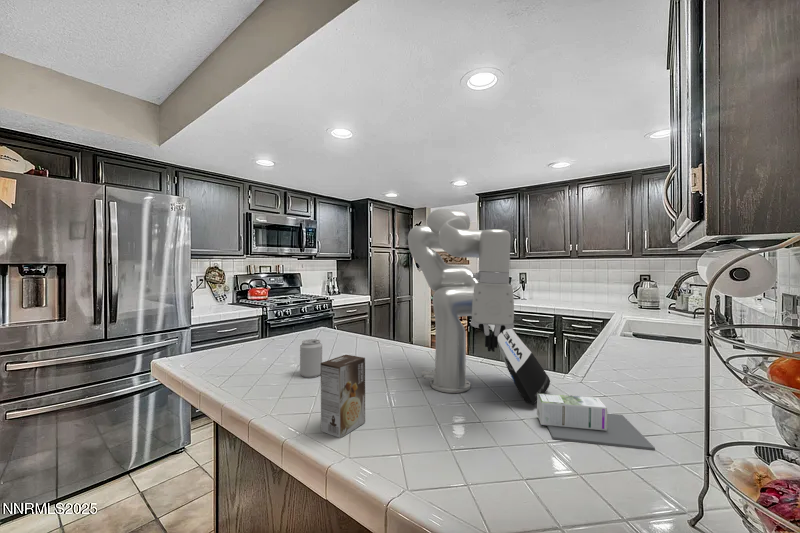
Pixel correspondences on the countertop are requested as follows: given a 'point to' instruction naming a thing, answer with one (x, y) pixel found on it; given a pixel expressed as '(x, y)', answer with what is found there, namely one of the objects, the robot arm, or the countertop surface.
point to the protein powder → (522, 366)
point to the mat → (605, 434)
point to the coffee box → (342, 395)
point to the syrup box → (572, 411)
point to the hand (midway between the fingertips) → (490, 349)
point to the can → (310, 358)
